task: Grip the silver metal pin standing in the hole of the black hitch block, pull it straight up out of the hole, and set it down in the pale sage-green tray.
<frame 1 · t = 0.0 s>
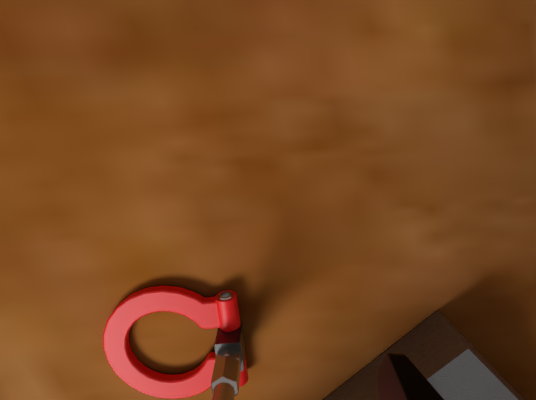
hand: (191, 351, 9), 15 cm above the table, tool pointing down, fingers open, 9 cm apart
tow hook: (177, 336, 27), on the table
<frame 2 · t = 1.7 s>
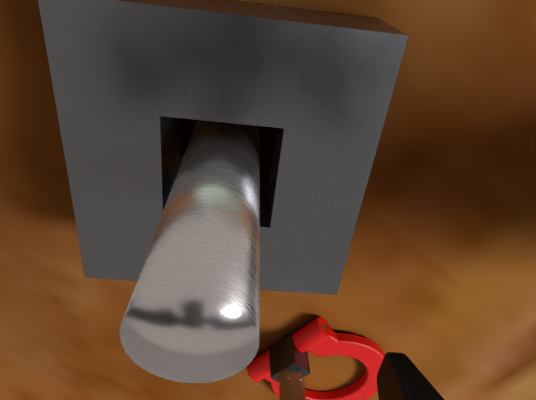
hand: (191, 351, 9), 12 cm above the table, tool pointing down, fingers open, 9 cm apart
tow hook: (323, 362, 29), on the table
pin: (215, 202, 14), in the hitch block
hitch block: (226, 137, 19), on the table
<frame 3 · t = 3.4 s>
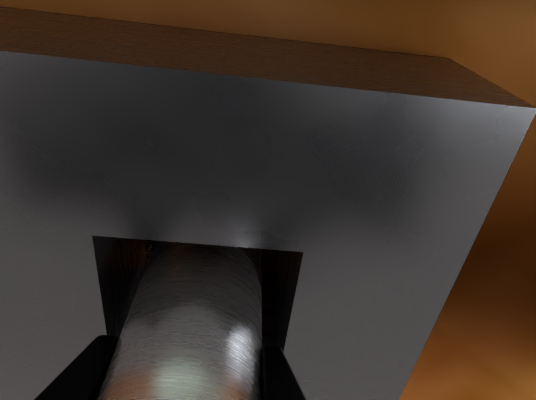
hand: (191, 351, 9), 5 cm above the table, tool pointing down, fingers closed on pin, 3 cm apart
pin: (184, 391, 8), in the hitch block, touching gripper
hitch block: (214, 223, 13), on the table
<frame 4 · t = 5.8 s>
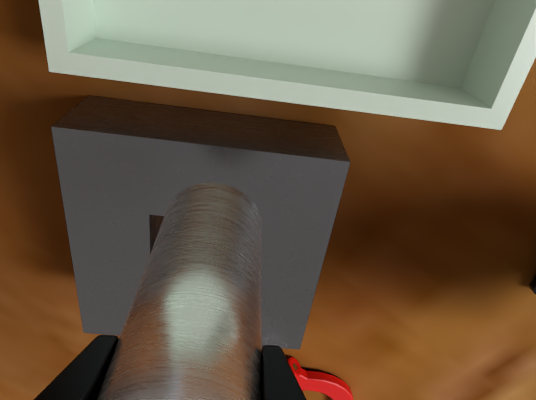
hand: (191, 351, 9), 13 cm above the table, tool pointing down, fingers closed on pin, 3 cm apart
tow hook: (296, 393, 32), on the table
pin: (183, 392, 8), point 14 cm above the table, touching gripper
hitch block: (208, 212, 23), on the table
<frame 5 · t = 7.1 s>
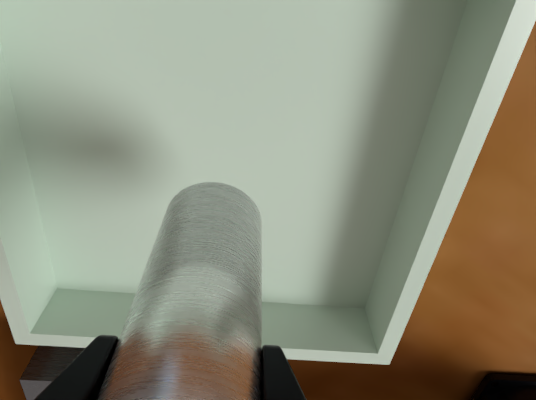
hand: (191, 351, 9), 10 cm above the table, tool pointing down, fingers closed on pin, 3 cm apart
tray: (223, 155, 18), on the table
pin: (184, 392, 8), point 11 cm above the table, touching gripper
hitch block: (165, 384, 26), on the table
when the fingers open (7 cm above the table, at t = 8.3 s): pin drops 1 cm, resting on tray.
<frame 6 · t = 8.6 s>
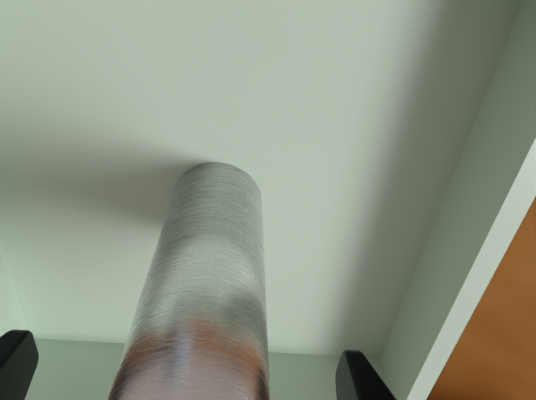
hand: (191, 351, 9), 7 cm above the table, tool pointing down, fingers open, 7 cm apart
tray: (218, 192, 15), on the table
pin: (199, 339, 9), in the tray, point 7 cm above the table
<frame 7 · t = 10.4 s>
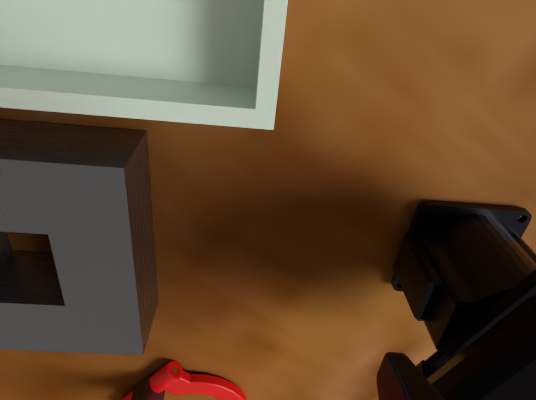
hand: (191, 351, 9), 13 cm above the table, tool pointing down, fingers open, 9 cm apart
tow hook: (191, 396, 32), on the table
hitch block: (45, 221, 23), on the table
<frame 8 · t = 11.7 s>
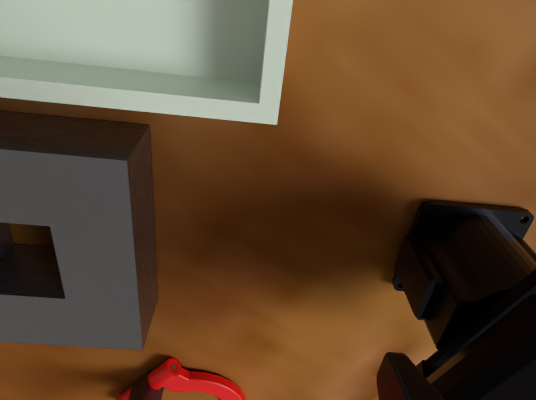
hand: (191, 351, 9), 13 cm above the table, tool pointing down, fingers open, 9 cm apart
tow hook: (189, 394, 32), on the table
hitch block: (47, 214, 23), on the table
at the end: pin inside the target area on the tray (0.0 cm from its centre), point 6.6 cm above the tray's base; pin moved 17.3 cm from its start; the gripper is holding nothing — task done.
